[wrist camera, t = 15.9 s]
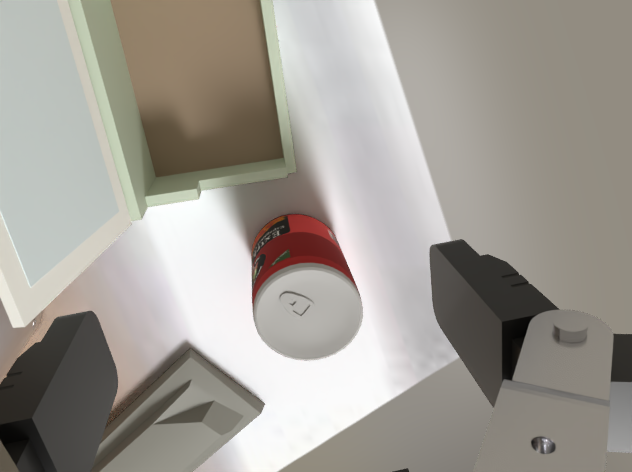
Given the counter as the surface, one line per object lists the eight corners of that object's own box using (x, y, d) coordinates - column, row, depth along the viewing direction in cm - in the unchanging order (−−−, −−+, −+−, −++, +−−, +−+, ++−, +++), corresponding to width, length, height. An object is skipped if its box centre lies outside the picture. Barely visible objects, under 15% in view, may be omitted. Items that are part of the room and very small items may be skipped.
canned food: (269, 198, 44) (276, 252, 34) (352, 228, 46) (382, 287, 36) (238, 274, 46) (236, 345, 36) (319, 299, 49) (338, 373, 38)
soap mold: (266, 400, 53) (267, 424, 50) (137, 510, 57) (131, 539, 54) (190, 343, 49) (186, 366, 46) (57, 465, 53) (45, 494, 50)
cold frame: (149, 186, 42) (129, 221, 35) (92, -32, 36) (52, -45, 29) (294, 163, 43) (304, 193, 36) (263, -53, 37) (267, -71, 29)
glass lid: (132, 224, 34) (122, 224, 35) (55, -47, 28) (43, -45, 28) (25, 326, 24) (11, 327, 24) (-142, -77, 17) (-160, -74, 17)
